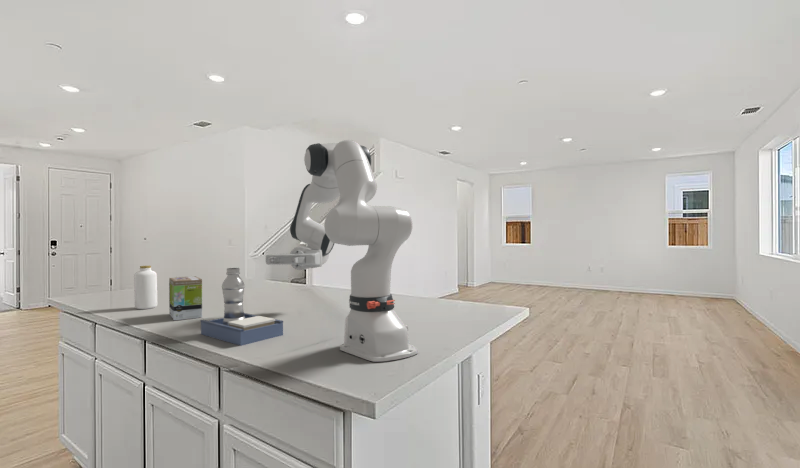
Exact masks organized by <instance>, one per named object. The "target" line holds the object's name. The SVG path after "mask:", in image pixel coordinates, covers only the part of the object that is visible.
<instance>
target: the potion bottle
mask: <svg viewBox="0 0 800 468" xmlns="http://www.w3.org/2000/svg"><path fill="white" fill-rule="evenodd" d="M133 275H134V276H133V278H134V279H133V281H134V282H133V284H134V285H133V286H134V308H135V309H137V310H149V309H154V308H156V307H158V273H157V272H156V271H155V270H152V265H141V266H139V271H137V272H135V273H134V274H133Z"/></svg>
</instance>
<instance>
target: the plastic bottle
mask: <svg viewBox="0 0 800 468" xmlns="http://www.w3.org/2000/svg"><path fill="white" fill-rule="evenodd" d="M240 270H241V269H240V268H239V267H227V268H226V278H225V279H224V280H223V281H222V284H221V290H222V294H223V303H224V305H223V306H224V310H223V312H224V313H223V318H224V319H223V325H228V326H229V324H228V322H230V321H235V320H240V319H245V316H244V313H245V311H244V310H245V309H244V295H245V294H244V293H245V282H244V280H243V278H242V277H240V274H241V271H240Z"/></svg>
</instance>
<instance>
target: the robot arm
mask: <svg viewBox="0 0 800 468" xmlns="http://www.w3.org/2000/svg"><path fill="white" fill-rule="evenodd" d="M303 161H304V165H305V168H306V171H307V172H308V173H309V175H311V176H312V178H311V181H310V183H309V184H306V185H305V187H303V189H302V191H301V193H300V197H299V199H298V203H297V207H296V209H295V213H294V218H292V221H291V224H290V226H289V232H290V234H291V237H292V239H295V240H296V241H299V242H302V243H304V244H306V246H297V247H294V248H293V249H292V250H291V251H290V253H272V254H266V256H265V263H266V265H270V266H272V265H273V266H275V265H277V266H278V265H279V266H280V265H282V266H283V265H285V266H287V265H291V267H292V268H293V269H295V270H298V271H304V270H309V269H316V268H319V267H323V265H325V264H326V262H327V261H328V259H329V256H330V253H331V252H332V250H333V249H334V246H335V244H337V245H342V246H347V247H350V246H351V247H353V246H368V249H367V250H366V253H365V255H364V256H363V257H362V258H360V259H359V260H356V262H355V263H353V265H352V266H351V269H350V295H349V299H348V303H349V305H348V306H349V309H350V311H349V313H348V315H347V316H346V317H345V322H344V336H343V337H344V339H343V341H344V342H343V343H342V344H340V345H339V351H342V352H345V353H347V354H350V355H352V356H356V357H359V358H361V359H363V360H366V361H370V362H376V363H377V362H389V361H390V362H391V361H396V360H401V359H404V358H409V357H412V356H415V355H417V354H418V353H419V349H418V348H417V347H416V346H415V345H413V344H411V343H410V341H409V339H410V338H409V326H408V324H406V323H405V324H404V322H403V320H402V319H401V318H400V316H399V315H398V314H397V312H396V311H395V305H396V303H395V301H396V300H395V299H394V298H393V294H392V293H391V283H392V282H391V279H392V278H391V276H392V274H391V273H392V266H393V262H394V259H395V256H396V254H397V252H398V250H399V249H400V247H401V246H402V245H403V244H404V243H405V242H406V241H407V240H408V239H409V238H410V236H411V235H412V231H413V220H412V217H411V215H410V213H409V212H408V211H407V210H406V209H403V208H401V207H400V208H399V207H395V206H390V205H387V206H385V205H369V204H368V203H369V202H370V201H371V200H372V199H374V197H375V195H376V193H377V190H378V189H377V188H378V185H377V181H376V178H375V176H374V172H373V170H372V155H371V152H370V150H369V149H368V147H367V146H364V145H361V144H359V143H358V142H357V141H355V140H352V139H343V140H342V141H339V142H332V143H331V142H330V143H329V142H328V143H327V142H326V143H318V142H317V143H313V144H309V146H308V147H307V148H306V150H305V153H304V157H303ZM338 198H339V199H338ZM337 199H338V202H337V203H336V205H335V206H334V207H332V208H331V209H330V210H329V211H328V212H327V215H326V216H325V219H324V225H323V224H322V223H319V222H317V221H315V220H313V219H312V218H311V217H310V212H311V209H312V205H313V204H328V203H329V204H330V203H333V202H334V201H336V200H337Z"/></svg>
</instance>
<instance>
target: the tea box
mask: <svg viewBox="0 0 800 468" xmlns="http://www.w3.org/2000/svg"><path fill="white" fill-rule="evenodd" d="M168 282H169V283H168V286H169V287H168V290H169V291H168V292H169V293H168V294H169V295H168V299H169V301H168V303H169V308H168V309H169V315H170V317H171V319H172V320H173V321H182V320H183V321H184V320H190V319H192V320H193V319H199V318H202V317H203V279H202V278H200V277H198V276H192V275H191V276H178V277H177V276H176V277H169V281H168Z"/></svg>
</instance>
